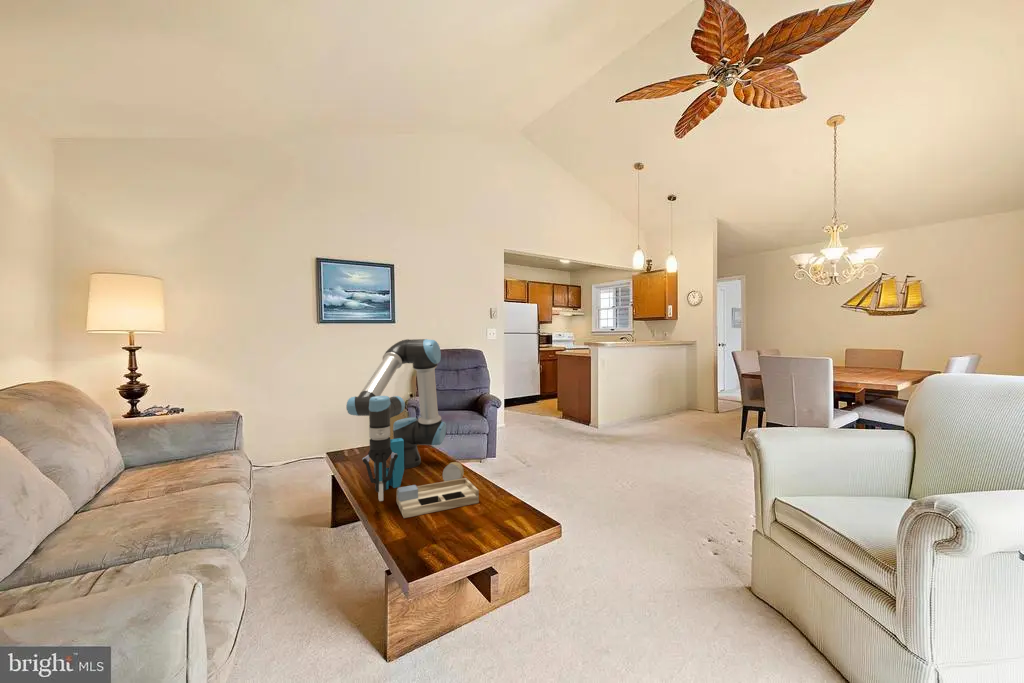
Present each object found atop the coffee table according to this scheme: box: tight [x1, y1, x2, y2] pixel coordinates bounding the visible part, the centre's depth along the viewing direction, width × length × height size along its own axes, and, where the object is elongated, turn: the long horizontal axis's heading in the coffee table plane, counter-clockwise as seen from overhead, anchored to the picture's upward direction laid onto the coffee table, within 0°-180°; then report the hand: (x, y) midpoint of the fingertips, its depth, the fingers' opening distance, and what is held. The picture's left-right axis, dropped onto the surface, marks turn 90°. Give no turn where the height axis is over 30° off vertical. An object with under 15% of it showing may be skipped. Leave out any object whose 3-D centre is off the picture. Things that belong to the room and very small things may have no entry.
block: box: [396, 484, 418, 501], centre depth 153 cm, size 5×7×4 cm
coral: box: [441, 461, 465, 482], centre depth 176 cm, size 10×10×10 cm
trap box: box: [396, 477, 480, 519], centre depth 155 cm, size 15×29×5 cm, turn 116°
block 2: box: [373, 438, 405, 490], centre depth 172 cm, size 12×5×20 cm, turn 119°
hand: (380, 499), depth 149 cm, fingers closed
